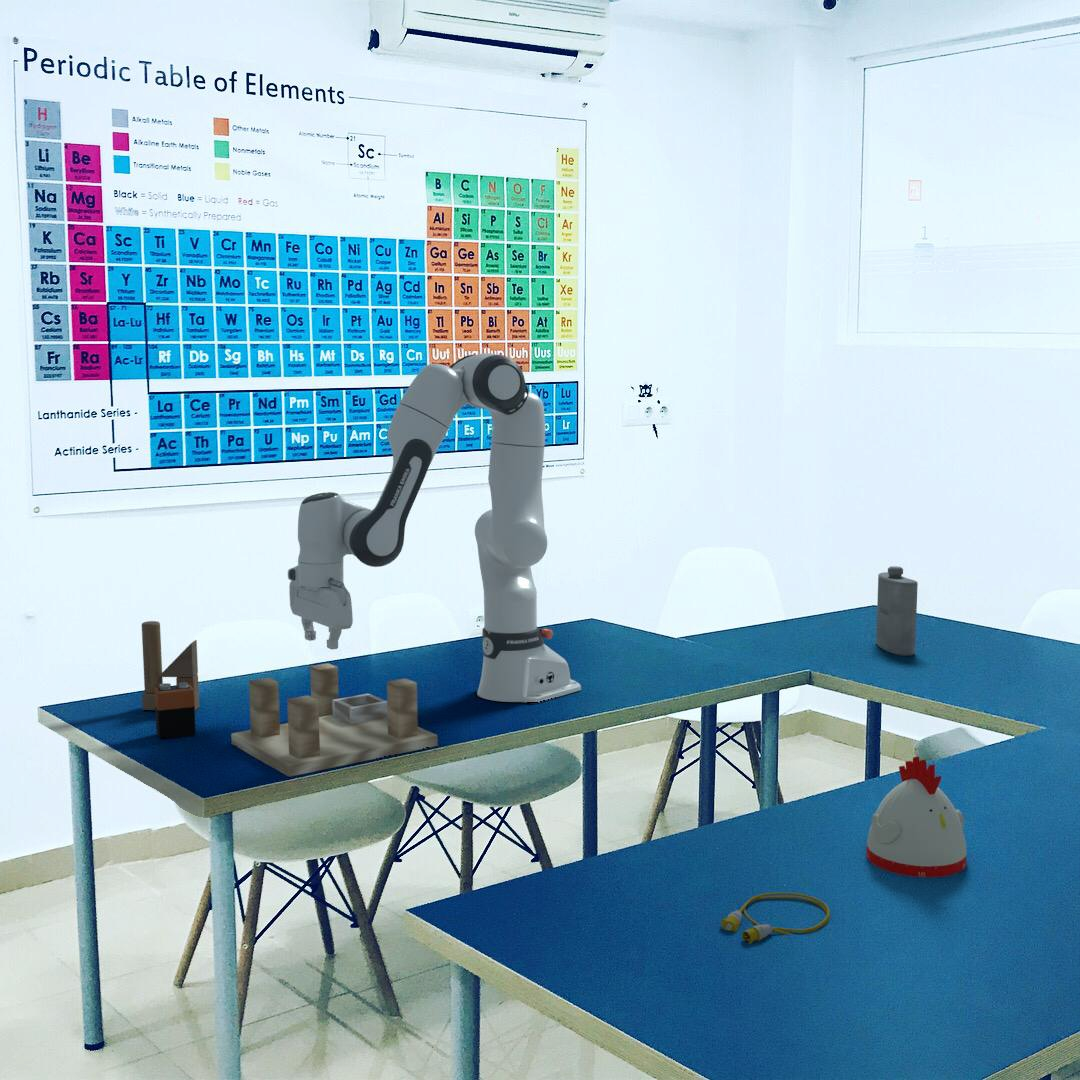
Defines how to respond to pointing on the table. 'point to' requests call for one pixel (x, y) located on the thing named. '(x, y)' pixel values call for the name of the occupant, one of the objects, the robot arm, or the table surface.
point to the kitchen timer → (917, 827)
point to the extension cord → (765, 929)
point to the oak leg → (324, 686)
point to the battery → (175, 710)
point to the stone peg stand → (331, 728)
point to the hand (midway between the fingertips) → (321, 644)
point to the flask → (896, 612)
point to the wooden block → (180, 667)
